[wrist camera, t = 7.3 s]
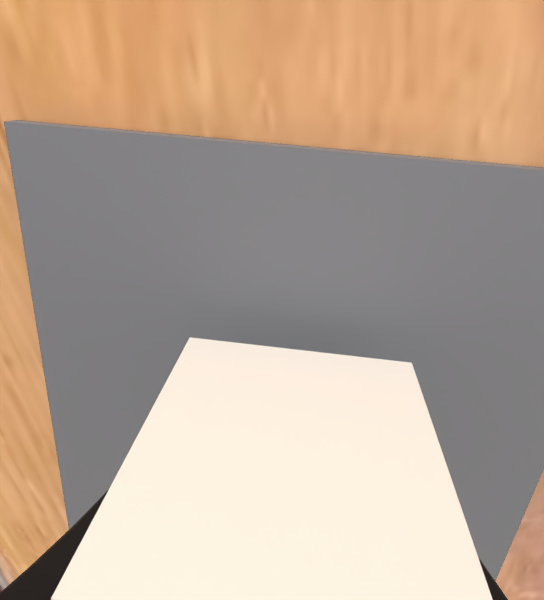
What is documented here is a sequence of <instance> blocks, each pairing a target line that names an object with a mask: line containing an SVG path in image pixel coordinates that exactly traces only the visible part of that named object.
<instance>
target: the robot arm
mask: <svg viewBox="0 0 544 600" xmlns="http://www.w3.org/2000/svg"><path fill="white" fill-rule="evenodd" d="M108 490H109V489H108ZM108 490H107V491H106V492H105V494H104V495H103V496H102V497H101V498H100V499H99V500H98V501H97V502H96V503H95V504H94V505H93V506H92V507H91V508H90V509H89V510H88V511H87V512H86V513H85V514H84V515H83V516H82V517H81V518H80V519H79V520H78V521H77V522H76V523H75V524H74V525H73V526H72V527H71V528H70V529H69V530H68V531H67V532H66V533H65V534H64V535H63V536H62V537H61V538H60V539H59V540H58V541H57V542H56V543H55V544H54V545H53V546H52V547H50V548H49V549H48V550H47V551H46V552H45V553H44V554H43V555H42V556H41V557H40V558H39V559H38V560H37V561H35V562H34V563H33V564H32V565H31V566H30V567H29V568H28V569H27V570H26V571H25V572H23V573H22V574H21V575H20V576H19V577H18V578H17V579H15V580H14V581H13V582H12V583H11V584H10V585H9V586H7V587H6V588H5V589H4V590H3V591H1V592H0V600H51V597H52V596H53V594H54V592H55V590H56V588H57V586H58V584H59V582H60V581H61V579H62V577H63V575H64V573H65V571H66V569H67V567H68V565H69V564H70V562H71V560H72V558H73V556H74V554H75V552H76V550H77V549H78V547H79V545H80V543H81V541H82V539H83V537H84V535H85V534H86V532H87V530H88V528H89V526H90V524H91V522H92V520H93V518H94V517H95V515H96V513H97V511H98V509H99V507H100V505H101V503H102V502H103V500H104V498H105V496H106V494H107V492H108ZM478 558H479V557H478ZM479 561H480V564H481V567H482V570H483V573H484V576H485V579H486V582H487V585H488V588H489V591H490V593H491V596H492V599H493V600H508V599H507V598H506V596H505V595H504V593H503V592H502V591H501V589H500V588H499V586H498V585H497V583H496V582H495V580H494V579H493V577H492V576H491V574H490V573H489V572H488V570H487V569H486V567H485V566H484V564H483V563H482V561H481V560H480V558H479Z"/></svg>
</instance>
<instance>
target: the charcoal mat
mask: <svg viewBox="0 0 544 600" xmlns="http://www.w3.org/2000/svg"><path fill="white" fill-rule="evenodd" d="M4 126H5V132H6V138H7V144H8V151H9V157H10V163H11V169H12V176H13V182H14V188H15V194H16V201H17V207H18V213H19V219H20V226H21V232H22V238H23V244H24V251H25V257H26V263H27V269H28V276H29V282H30V288H31V294H32V301H33V307H34V313H35V319H36V326H37V332H38V338H39V344H40V351H41V357H42V363H43V369H44V376H45V382H46V388H47V394H48V401H49V407H50V413H51V419H52V426H53V432H54V438H55V444H56V451H57V457H58V463H59V469H60V476H61V482H62V488H63V494H64V501H65V507H66V513H67V519H68V526H69V529H70V528H71V527H72V526H73V525H74V524H75V523H76V522H77V521H78V520H79V519H80V518H81V517H82V516H83V515H84V514H85V513H86V512H87V511H88V510H89V509H90V508H91V507H92V506H93V505H94V504H95V503H96V502H97V501H98V500H99V499H100V498H101V497H102V496H103V495H104V494H105V492H106V491H107V490H108V489H109V488H110V486H111V485H112V483H113V481H114V479H115V477H116V475H117V473H118V471H119V470H120V468H121V466H122V464H123V462H124V460H125V458H126V456H127V454H128V453H129V451H130V449H131V447H132V445H133V443H134V441H135V439H136V438H137V436H138V434H139V432H140V430H141V428H142V426H143V424H144V422H145V421H146V419H147V417H148V415H149V413H150V411H151V409H152V407H153V406H154V404H155V402H156V400H157V398H158V396H159V394H160V392H161V390H162V389H163V387H164V385H165V383H166V381H167V379H168V377H169V375H170V374H171V372H172V370H173V368H174V366H175V364H176V362H177V360H178V358H179V357H180V355H181V353H182V351H183V349H184V347H185V345H186V343H187V342H188V340H189V338H190V337H191V338H200V339H208V340H217V341H226V342H235V343H244V344H252V345H261V346H270V347H279V348H287V349H296V350H305V351H314V352H322V353H331V354H340V355H349V356H357V357H366V358H375V359H384V360H393V361H401V362H410V363H412V365H413V368H414V371H415V374H416V377H417V379H418V382H419V385H420V388H421V391H422V394H423V397H424V400H425V403H426V406H427V409H428V412H429V415H430V418H431V420H432V423H433V426H434V429H435V432H436V435H437V438H438V441H439V444H440V447H441V450H442V453H443V456H444V459H445V462H446V464H447V467H448V470H449V473H450V476H451V479H452V482H453V485H454V488H455V491H456V494H457V497H458V500H459V503H460V505H461V508H462V511H463V514H464V517H465V520H466V523H467V526H468V529H469V532H470V535H471V538H472V541H473V544H474V547H475V549H476V552H477V555H478V557H479V558H480V560H481V561H482V563H483V564H484V566H485V567H486V569H487V570H488V572H489V573H490V574H491V576H492V577H493V579H494V580H495V581H496V578H497V576H498V574H499V571H500V569H501V567H502V564H503V562H504V560H505V557H506V555H507V553H508V551H509V548H510V546H511V544H512V541H513V539H514V537H515V534H516V532H517V530H518V527H519V525H520V523H521V520H522V518H523V516H524V514H525V511H526V509H527V507H528V504H529V502H530V500H531V497H532V495H533V493H534V490H535V488H536V486H537V484H538V481H539V479H540V477H541V474H542V472H543V470H544V168H542V167H531V166H519V165H508V164H497V163H486V162H475V161H464V160H453V159H442V158H431V157H420V156H409V155H398V154H387V153H376V152H365V151H354V150H342V149H331V148H320V147H309V146H298V145H287V144H276V143H265V142H254V141H243V140H232V139H221V138H210V137H199V136H188V135H177V134H165V133H154V132H143V131H132V130H121V129H110V128H99V127H88V126H77V125H66V124H55V123H44V122H33V121H22V120H14V121H5V122H4Z"/></svg>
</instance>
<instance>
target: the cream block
mask: <svg viewBox="0 0 544 600" xmlns="http://www.w3.org/2000/svg"><path fill="white" fill-rule="evenodd" d="M51 600H493V599H492V596H491V593H490V591H489V588H488V585H487V582H486V579H485V576H484V573H483V570H482V567H481V564H480V561H479V558H478V555H477V552H476V549H475V547H474V544H473V541H472V538H471V535H470V532H469V529H468V526H467V523H466V520H465V517H464V514H463V511H462V508H461V505H460V503H459V500H458V497H457V494H456V491H455V488H454V485H453V482H452V479H451V476H450V473H449V470H448V467H447V464H446V462H445V459H444V456H443V453H442V450H441V447H440V444H439V441H438V438H437V435H436V432H435V429H434V426H433V423H432V420H431V418H430V415H429V412H428V409H427V406H426V403H425V400H424V397H423V394H422V391H421V388H420V385H419V382H418V379H417V377H416V374H415V371H414V368H413V365H412V363H410V362H401V361H393V360H384V359H375V358H366V357H357V356H349V355H340V354H331V353H322V352H314V351H305V350H296V349H287V348H279V347H270V346H261V345H252V344H244V343H235V342H226V341H217V340H208V339H200V338H191V337H190V338H189V340H188V342H187V343H186V345H185V347H184V349H183V351H182V353H181V355H180V357H179V358H178V360H177V362H176V364H175V366H174V368H173V370H172V372H171V374H170V375H169V377H168V379H167V381H166V383H165V385H164V387H163V389H162V390H161V392H160V394H159V396H158V398H157V400H156V402H155V404H154V406H153V407H152V409H151V411H150V413H149V415H148V417H147V419H146V421H145V422H144V424H143V426H142V428H141V430H140V432H139V434H138V436H137V438H136V439H135V441H134V443H133V445H132V447H131V449H130V451H129V453H128V454H127V456H126V458H125V460H124V462H123V464H122V466H121V468H120V470H119V471H118V473H117V475H116V477H115V479H114V481H113V483H112V485H111V486H110V488H109V490H108V492H107V494H106V496H105V498H104V500H103V502H102V503H101V505H100V507H99V509H98V511H97V513H96V515H95V517H94V518H93V520H92V522H91V524H90V526H89V528H88V530H87V532H86V534H85V535H84V537H83V539H82V541H81V543H80V545H79V547H78V549H77V550H76V552H75V554H74V556H73V558H72V560H71V562H70V564H69V565H68V567H67V569H66V571H65V573H64V575H63V577H62V579H61V581H60V582H59V584H58V586H57V588H56V590H55V592H54V594H53V596H52V597H51Z"/></svg>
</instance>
